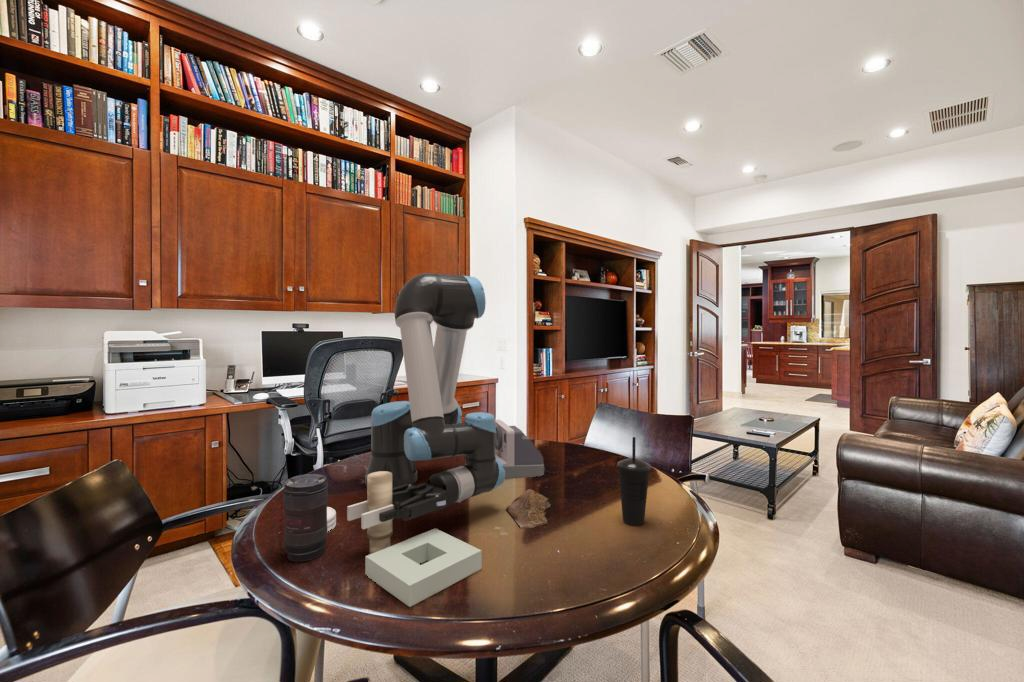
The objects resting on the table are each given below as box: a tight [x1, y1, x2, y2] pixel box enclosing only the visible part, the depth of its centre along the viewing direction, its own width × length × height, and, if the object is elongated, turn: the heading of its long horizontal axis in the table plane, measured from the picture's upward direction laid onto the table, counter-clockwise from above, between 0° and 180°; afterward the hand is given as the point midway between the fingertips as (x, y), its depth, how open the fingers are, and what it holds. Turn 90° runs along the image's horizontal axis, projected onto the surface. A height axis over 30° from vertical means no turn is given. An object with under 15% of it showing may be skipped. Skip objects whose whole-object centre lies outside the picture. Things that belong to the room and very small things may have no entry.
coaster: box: [327, 506, 337, 533], centre depth 101 cm, size 10×10×4 cm
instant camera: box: [495, 419, 546, 480], centre depth 145 cm, size 21×21×15 cm
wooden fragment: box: [505, 488, 552, 530], centre depth 114 cm, size 26×11×1 cm, turn 172°
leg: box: [366, 471, 394, 555], centre depth 89 cm, size 5×5×16 cm
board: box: [364, 527, 483, 608], centre depth 82 cm, size 14×16×4 cm
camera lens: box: [282, 473, 329, 562], centre depth 89 cm, size 8×8×15 cm
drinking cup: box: [616, 436, 652, 527], centre depth 105 cm, size 8×8×20 cm
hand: (355, 517), depth 85 cm, fingers closed on leg, 5 cm apart
